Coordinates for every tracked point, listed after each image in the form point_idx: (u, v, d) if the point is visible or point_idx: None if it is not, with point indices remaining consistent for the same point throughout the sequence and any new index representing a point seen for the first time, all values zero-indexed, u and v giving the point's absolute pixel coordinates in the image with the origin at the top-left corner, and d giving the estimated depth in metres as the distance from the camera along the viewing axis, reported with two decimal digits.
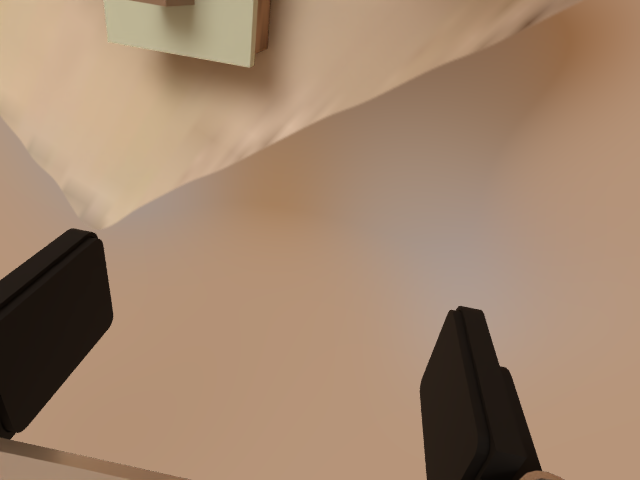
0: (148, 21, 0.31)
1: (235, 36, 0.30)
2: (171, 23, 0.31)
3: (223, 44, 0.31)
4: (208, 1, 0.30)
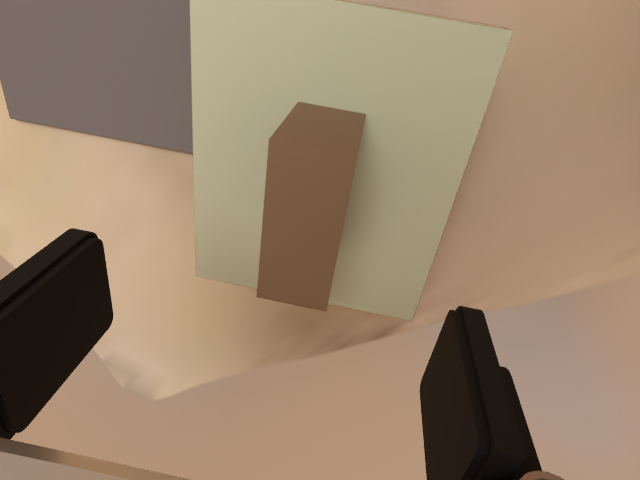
0: None
1: (397, 286, 0.20)
2: None
3: (376, 293, 0.20)
4: (363, 243, 0.19)
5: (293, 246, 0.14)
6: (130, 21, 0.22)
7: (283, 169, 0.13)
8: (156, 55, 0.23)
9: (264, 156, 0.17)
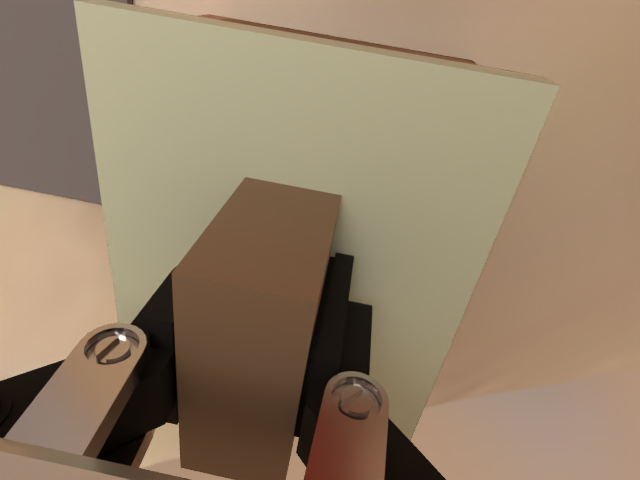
0: None
1: (389, 404, 0.15)
2: None
3: None
4: None
5: (228, 413, 0.09)
6: (46, 52, 0.17)
7: (200, 315, 0.08)
8: (83, 94, 0.18)
9: None
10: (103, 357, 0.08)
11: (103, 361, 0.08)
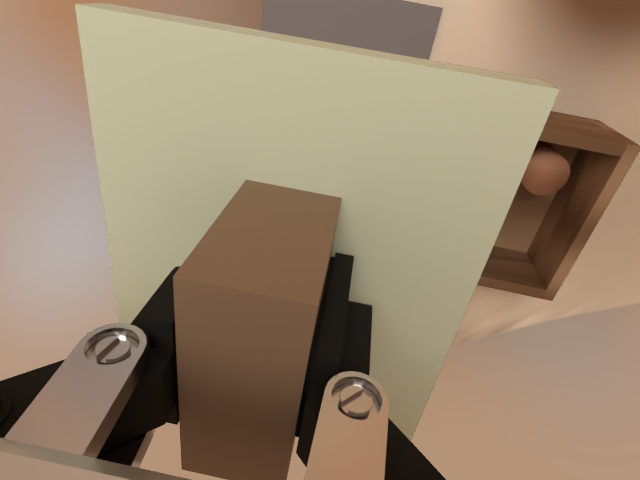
0: None
1: (389, 405, 0.15)
2: None
3: None
4: None
5: (228, 416, 0.09)
6: None
7: (201, 319, 0.08)
8: None
9: None
10: (103, 357, 0.08)
11: (103, 361, 0.08)
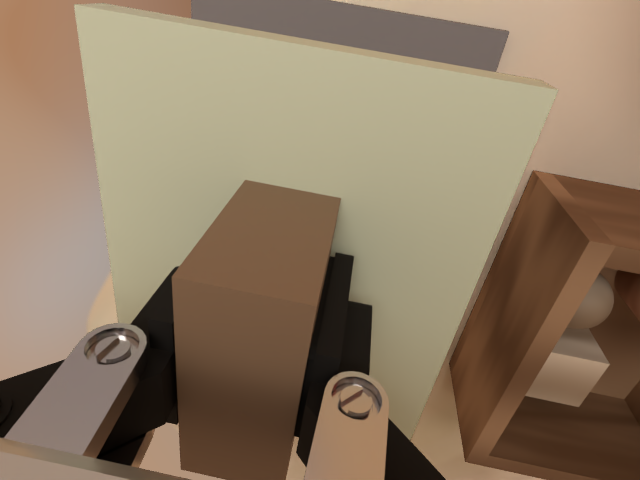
0: None
1: (389, 406, 0.15)
2: None
3: None
4: None
5: (227, 416, 0.09)
6: None
7: (200, 319, 0.08)
8: None
9: None
10: (103, 357, 0.08)
11: (103, 361, 0.08)
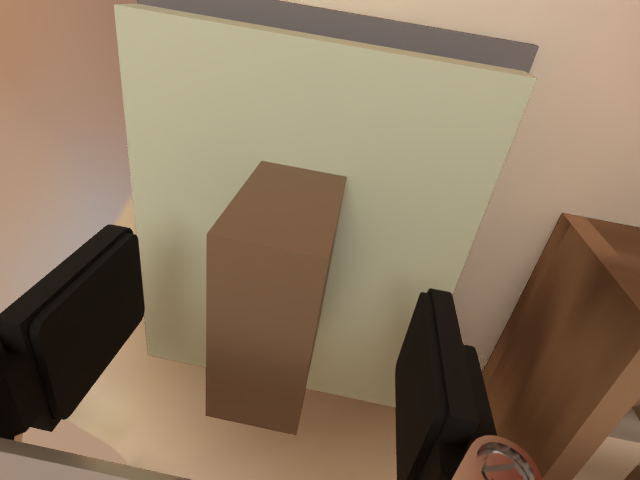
0: None
1: (389, 372, 0.16)
2: None
3: (364, 379, 0.17)
4: (346, 324, 0.15)
5: (249, 362, 0.11)
6: None
7: (229, 272, 0.09)
8: None
9: None
10: None
11: None
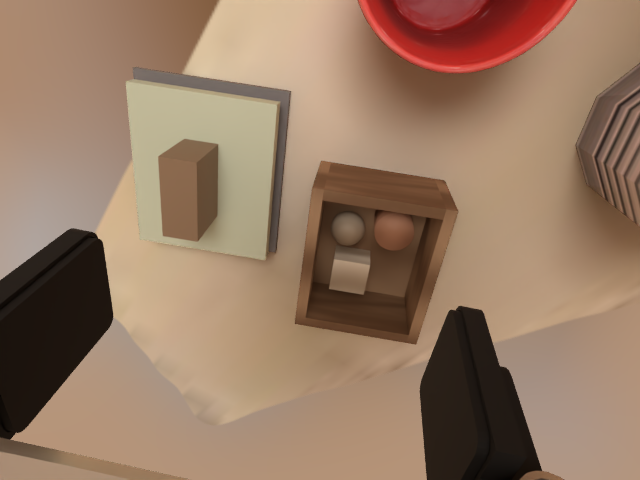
0: None
1: (252, 238, 0.35)
2: None
3: (242, 243, 0.36)
4: (229, 213, 0.34)
5: (176, 207, 0.29)
6: None
7: (166, 170, 0.28)
8: None
9: None
10: None
11: None
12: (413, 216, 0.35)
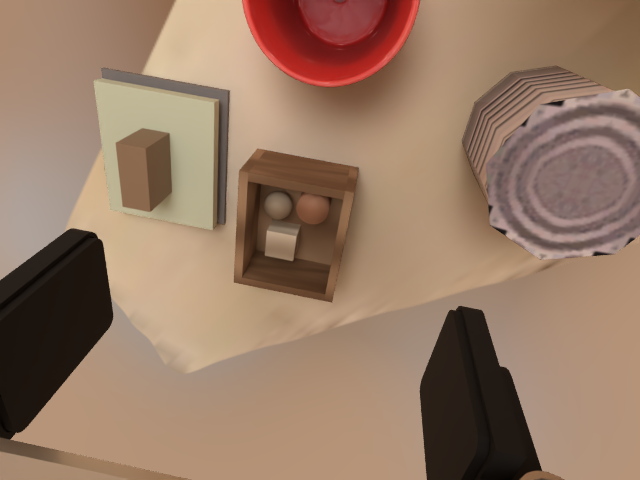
0: None
1: (201, 211, 0.43)
2: None
3: (193, 215, 0.43)
4: (181, 190, 0.42)
5: (132, 184, 0.37)
6: None
7: (122, 153, 0.36)
8: None
9: None
10: None
11: None
12: None
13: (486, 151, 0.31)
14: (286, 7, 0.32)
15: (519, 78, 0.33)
